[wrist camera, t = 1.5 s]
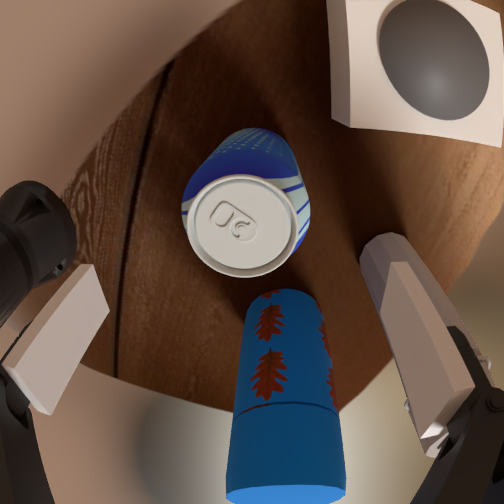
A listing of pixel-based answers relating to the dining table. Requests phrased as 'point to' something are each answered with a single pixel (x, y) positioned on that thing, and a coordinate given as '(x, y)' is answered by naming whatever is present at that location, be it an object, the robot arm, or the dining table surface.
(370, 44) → the white block with disc
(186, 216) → the beer can
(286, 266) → the dining table surface
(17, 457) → the robot arm
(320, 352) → the thermos
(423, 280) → the water bottle
